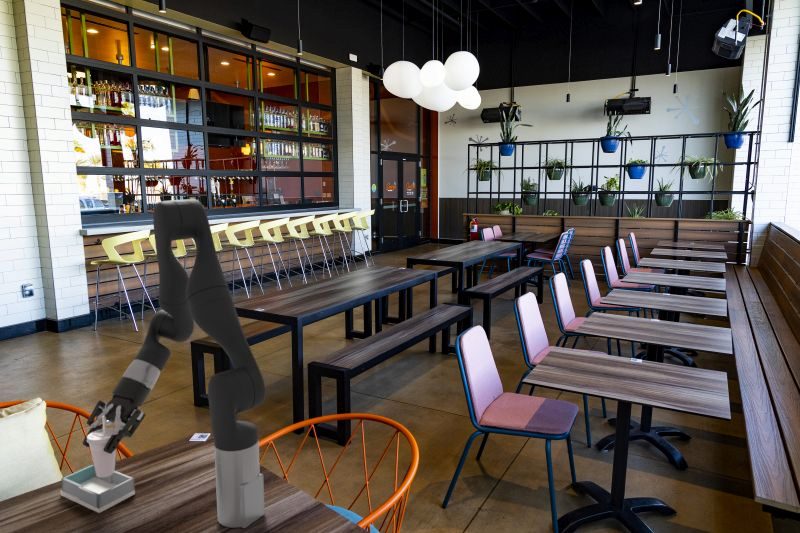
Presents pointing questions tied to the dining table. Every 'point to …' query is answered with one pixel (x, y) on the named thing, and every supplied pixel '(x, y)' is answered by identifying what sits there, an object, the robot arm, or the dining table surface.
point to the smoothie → (102, 451)
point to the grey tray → (97, 488)
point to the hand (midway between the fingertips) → (96, 449)
